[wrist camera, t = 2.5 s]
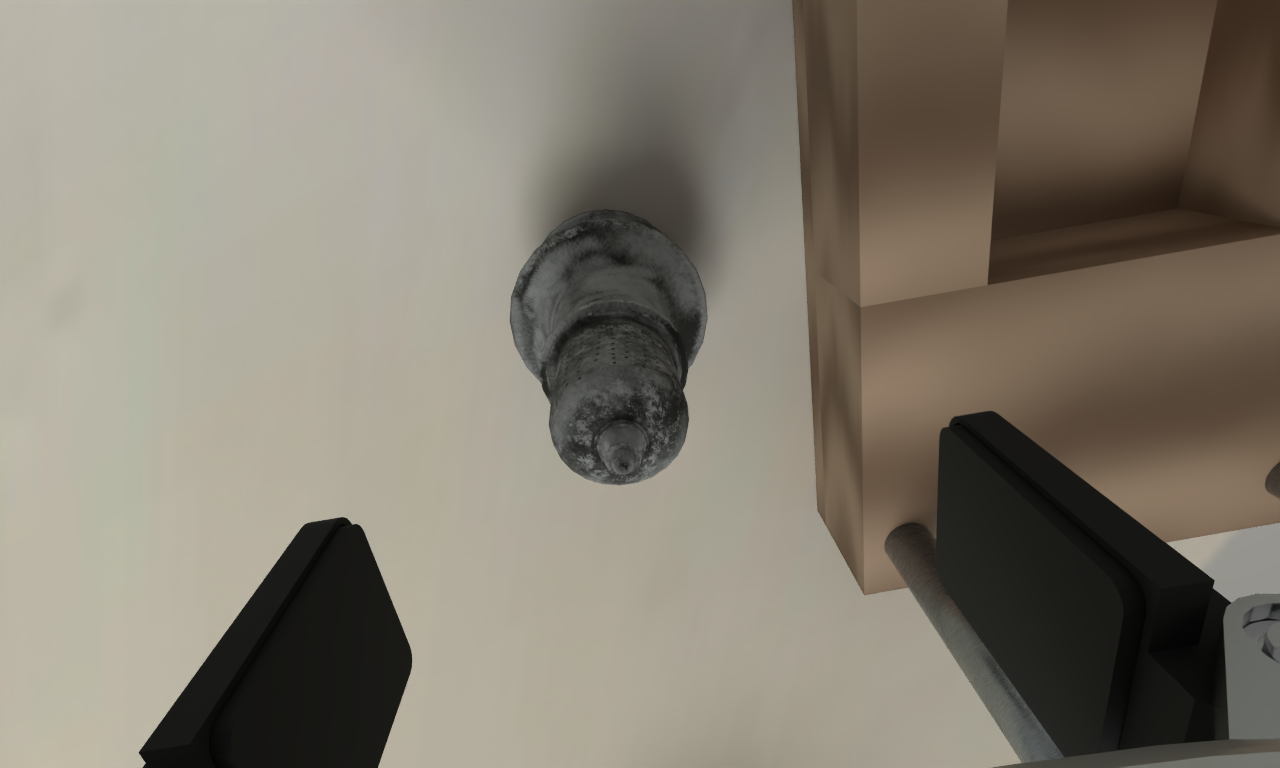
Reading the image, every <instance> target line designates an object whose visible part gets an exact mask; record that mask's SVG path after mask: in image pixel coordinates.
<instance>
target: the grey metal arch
mask: <svg viewBox="0 0 1280 768" xmlns="http://www.w3.org/2000/svg"><path fill="white" fill-rule="evenodd" d="M1265 488H1266V490H1267V491H1268V493H1270V494H1272V495H1273V496H1275V497H1277V498H1278V499H1280V462H1279V463H1278V464H1277V465H1275V466H1274V467H1273V468H1272V470H1271V471H1270V472H1269V474H1268V475H1267V477H1266V481H1265ZM884 549H885V552H886V554H887V555H888V557H889V558H890V560H891V562H892V563H893V565H894V566H895V568H896V569H897V571H898V572H899V574H900V575H901V577H902V578H903V580H904V582H905V583H906V585H907V586H908V588H909V589H910V591H911V592H912V594H913V595H914V597H915V598H916V600H917V602H918V603H919V605H920V606H921V608H922V609H923V611H924V612H925V614H926V615H927V617H928V619H929V620H930V622H931V623H932V625H933V626H934V628H935V629H936V631H937V632H938V634H939V635H940V637H941V639H942V640H943V642H944V643H945V645H946V646H947V648H948V649H949V651H950V652H951V654H952V655H953V657H954V659H955V660H956V662H957V663H958V665H959V666H960V668H961V669H962V671H963V672H964V674H965V676H966V677H967V679H968V680H969V682H970V683H971V685H972V686H973V688H974V689H975V691H976V692H977V694H978V696H979V697H980V699H981V700H982V702H983V703H984V705H985V706H986V708H987V709H988V711H989V712H990V714H991V716H992V717H993V719H994V720H995V722H996V723H997V725H998V726H999V728H1000V729H1001V731H1002V733H1003V734H1004V736H1005V737H1006V739H1007V740H1008V742H1009V743H1010V745H1011V746H1012V748H1013V749H1014V751H1015V753H1016V754H1017V756H1018V757H1019V759H1020V760H1021V762H1022V763H1028V762H1035V761H1043V760H1050V759H1058V758H1065V757H1064V756H1063V755H1062V753H1061V752H1060V750H1059V749H1058V748H1057V746H1056V745H1055V743H1054V742H1053V741H1052V739H1051V738H1050V736H1049V735H1048V734H1047V732H1046V731H1045V729H1044V728H1043V727H1042V725H1041V724H1040V722H1039V721H1038V720H1037V718H1036V717H1035V715H1034V714H1033V713H1032V711H1031V710H1030V708H1029V707H1028V706H1027V704H1026V703H1025V701H1024V700H1023V698H1022V697H1021V696H1020V694H1019V693H1018V691H1017V690H1016V689H1015V687H1014V686H1013V684H1012V683H1011V682H1010V680H1009V679H1008V677H1007V676H1006V675H1005V673H1004V672H1003V670H1002V669H1001V668H1000V666H999V665H998V663H997V662H996V661H995V659H994V658H993V656H992V655H991V654H990V652H989V651H988V649H987V648H986V647H985V645H984V644H983V642H982V641H981V639H980V638H979V637H978V635H977V634H976V632H975V631H974V630H973V628H972V627H971V625H970V624H969V623H968V621H967V620H966V618H965V617H964V616H963V614H962V613H961V611H960V610H959V609H958V607H957V606H956V604H955V603H954V602H953V600H952V599H951V597H950V596H949V595H948V593H947V592H946V590H945V589H944V587H943V586H942V584H941V582H940V580H939V577H938V574H937V570H936V563H935V559H936V538H935V537H934V535H933V534H932V533H931V532H930V530H929V529H928V528H927V527H926V526H925V525H923V524H920V523H906V524H902V525H900V526H898V527H896V528H895V529H894V530H892V531H891V532H890V533H889V535H888V536H887V538H886V540H885V544H884Z"/></svg>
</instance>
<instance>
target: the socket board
mask: <svg viewBox="0 0 1280 768" xmlns="http://www.w3.org/2000/svg"><path fill="white" fill-rule="evenodd" d="M793 19H794V39H795V59H796V80H797V100H798V120H799V141H800V161H801V181H802V202H803V222H804V242H805V263H806V283H807V303H808V324H809V344H810V364H811V384H812V405H813V425H814V445H815V466H816V486H817V506H818V512H819V514H820V516H821V517H822V519H823V521H824V523H825V525H826V527H827V528H828V530H829V532H830V534H831V536H832V537H833V539H834V541H835V543H836V545H837V546H838V548H839V550H840V552H841V554H842V556H843V557H844V559H845V561H846V563H847V565H848V566H849V568H850V570H851V572H852V574H853V575H854V577H855V579H856V581H857V583H858V585H859V586H860V588H861V590H862V592H863V594H864V595H868V594H874V593H879V592H885V591H891V590H896V589H902V588H908V586H907V585H906V583H905V582H904V580H903V578H902V577H901V575H900V574H899V572H898V571H897V569H896V568H895V566H894V565H893V563H892V562H891V560H890V558H889V557H888V555H887V554H886V552H885V549H884V544H885V540H886V538H887V536H888V535H889V533H890V532H891V531H892V530H894V529H895V528H896V527H898V526H900V525H902V524H906V523H920V524H923V525H925V526H926V527H927V528H928V529H929V530H930V532H931V533H932V534H933V535H934V537H935V538H936V527H937V495H938V463H939V436H940V432H941V429H942V428H944V427H949V423H950V421H951V419H952V418H953V417H954V416H960V415H966V414H972V413H978V412H984V411H994V412H996V413H998V414H999V415H1000V416H1002V417H1003V418H1004V419H1005V420H1007V421H1008V422H1009V423H1011V424H1012V425H1013V426H1015V427H1016V428H1017V429H1018V430H1020V431H1021V432H1022V433H1024V434H1025V435H1026V436H1028V437H1029V438H1030V439H1031V440H1033V441H1034V442H1035V443H1037V444H1038V445H1039V446H1041V447H1042V448H1043V449H1044V450H1046V451H1047V452H1048V453H1050V454H1051V455H1052V456H1053V457H1055V458H1056V459H1057V460H1059V461H1060V462H1061V463H1063V464H1064V465H1065V466H1066V467H1068V468H1069V469H1070V470H1072V471H1073V472H1074V473H1076V474H1077V475H1078V476H1079V477H1081V478H1082V479H1083V480H1085V481H1086V482H1087V483H1089V484H1090V485H1091V486H1092V487H1094V488H1095V489H1096V490H1098V491H1099V492H1100V493H1102V494H1103V495H1104V496H1105V497H1107V498H1108V499H1109V500H1111V501H1112V502H1113V503H1115V504H1116V505H1117V506H1118V507H1120V508H1121V509H1122V510H1124V511H1125V512H1126V513H1128V514H1129V515H1130V516H1131V517H1133V518H1134V519H1135V520H1137V521H1138V522H1139V523H1141V524H1142V525H1143V526H1144V527H1146V528H1147V529H1148V530H1150V531H1151V532H1152V533H1154V534H1155V535H1156V536H1157V537H1159V538H1160V539H1161V540H1163V541H1164V542H1165V543H1166V542H1171V541H1177V540H1183V539H1188V538H1194V537H1200V536H1206V535H1211V534H1217V533H1223V532H1229V531H1234V530H1240V529H1246V528H1251V527H1257V526H1263V525H1269V524H1274V523H1280V499H1278V498H1277V497H1275V496H1273V495H1272V494H1270V493H1268V491H1267V490H1266V488H1265V481H1266V477H1267V475H1268V474H1269V472H1270V471H1271V470H1272V468H1273V467H1274V466H1275V465H1277V464H1278V463H1279V462H1280V0H793Z"/></svg>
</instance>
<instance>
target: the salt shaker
mask: <svg viewBox="0 0 1280 768" xmlns="http://www.w3.org/2000/svg"><path fill="white" fill-rule="evenodd" d="M706 323H707V306H706V294H705V291H704V288H703V286H702V283H701V280H700V278H699V275H698V272H697V270H696V268H695V267H694V266H693V264H692V263H691V262H690V260H689V259H688V258H687V256H686V255H685V253H684V252H683V251H682V249H681V248H680V247H678V246H677V245H676V244H674V243H673V242H672V241H671V240H669V239H668V238H667V237H665V236H664V235H663V234H662V233H661V232H660V231H658V230H657V229H656V228H655V227H653V226H652V225H651V224H649V223H648V222H647V221H646V220H644V219H641V218H639V217H636V216H634V215H632V214H629V213H627V212H621V211H613V210H599V211H592V212H585V213H582V214H580V215H578V216H575V217H573V218H571V219H569V220H566V221H565V222H564V223H562V224H561V225H560V226H559V227H557V228H556V229H555V230H554V231H552V232H551V233H550V234H549V235H548V237H547V238H546V240H545V241H544V242H543V244H542V245H541V246H540V247H538V248H537V249H536V250H535V251H534V253H533V254H532V255H531V257H530V258H529V260H528V261H527V262H526V264H525V265H524V267H523V268H522V269H521V271H520V273H519V276H518V279H517V282H516V285H515V287H514V290H513V293H512V296H511V311H510V324H511V329H512V333H513V338H514V342H515V346H516V348H517V350H518V352H519V354H520V356H521V357H522V359H523V361H524V363H525V365H526V367H527V368H528V369H529V370H530V371H531V372H532V373H533V375H534V376H535V377H536V378H537V379H538V380H539V381H540V382H541V383H542V388H543V391H544V392H545V394H546V396H547V398H548V400H549V402H550V404H551V409H550V419H549V427H550V432H551V437H552V441H553V444H554V447H555V448H556V450H557V452H558V454H559V456H560V458H561V459H562V461H563V462H564V463H565V464H566V465H567V466H568V467H569V468H570V469H571V470H572V471H574V472H575V473H577V474H579V475H580V476H582V477H584V478H586V479H588V480H591V481H594V482H598V483H601V484H609V485H625V484H632V483H638V482H640V481H643V480H645V479H648V478H651V477H653V476H655V475H656V474H658V473H659V472H660V471H662V470H663V469H665V468H666V467H667V466H668V465H669V464H670V463H671V462H672V461H673V460H674V459H675V458H676V457H677V455H678V454H679V452H680V450H681V448H682V446H683V444H684V442H685V438H686V433H687V428H688V422H689V416H688V406H687V402H686V398H685V395H684V392H683V389H684V387H685V384H686V379H687V373H688V368H689V367H690V366H691V365H692V364H693V362H694V360H695V357H696V355H697V353H698V351H699V349H700V347H701V345H702V343H703V339H704V334H705V329H706Z"/></svg>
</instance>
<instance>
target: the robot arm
mask: <svg viewBox="0 0 1280 768" xmlns="http://www.w3.org/2000/svg"><path fill="white" fill-rule="evenodd" d="M935 563H936V570H937V574H938V577H939V580H940V582H941V584H942V586H943V587H944V589H945V590H946V592H947V593H948V595H949V596H950V597H951V599H952V600H953V602H954V603H955V604H956V606H957V607H958V609H959V610H960V611H961V613H962V614H963V616H964V617H965V618H966V620H967V621H968V623H969V624H970V625H971V627H972V628H973V630H974V631H975V632H976V634H977V635H978V637H979V638H980V639H981V641H982V642H983V644H984V645H985V647H986V648H987V649H988V651H989V652H990V654H991V655H992V656H993V658H994V659H995V661H996V662H997V663H998V665H999V666H1000V668H1001V669H1002V670H1003V672H1004V673H1005V675H1006V676H1007V677H1008V679H1009V680H1010V682H1011V683H1012V684H1013V686H1014V687H1015V689H1016V690H1017V691H1018V693H1019V694H1020V696H1021V697H1022V698H1023V700H1024V701H1025V703H1026V704H1027V706H1028V707H1029V708H1030V710H1031V711H1032V713H1033V714H1034V715H1035V717H1036V718H1037V720H1038V721H1039V722H1040V724H1041V725H1042V727H1043V728H1044V729H1045V731H1046V732H1047V734H1048V735H1049V736H1050V738H1051V739H1052V741H1053V742H1054V743H1055V745H1056V746H1057V748H1058V749H1059V750H1060V752H1061V753H1062V755H1063V756H1064V757H1065V758H1058V759H1050V760H1043V761H1035V762H1028V763H1020V764H1013V765H1007V766H1000V767H993V768H1280V594H1254V595H1250V596H1245V597H1241V598H1238V599H1236V600H1235V601H1234V602H1232V603H1231V602H1230V601H1228V600H1227V599H1226V598H1224V597H1223V596H1222V595H1221V594H1219V593H1218V592H1217V591H1216V590H1214V589H1213V585H1214V580H1213V579H1212V578H1211V577H1209V576H1208V575H1207V574H1206V573H1204V572H1203V571H1202V570H1200V569H1199V568H1198V567H1196V566H1195V565H1194V564H1193V563H1191V562H1190V561H1189V560H1187V559H1186V558H1185V557H1183V556H1182V555H1181V554H1180V553H1178V552H1177V551H1176V550H1174V549H1173V548H1172V547H1170V546H1169V545H1168V544H1167V543H1165V542H1164V541H1163V540H1161V539H1160V538H1159V537H1157V536H1156V535H1155V534H1154V533H1152V532H1151V531H1150V530H1148V529H1147V528H1146V527H1144V526H1143V525H1142V524H1141V523H1139V522H1138V521H1137V520H1135V519H1134V518H1133V517H1131V516H1130V515H1129V514H1128V513H1126V512H1125V511H1124V510H1122V509H1121V508H1120V507H1118V506H1117V505H1116V504H1115V503H1113V502H1112V501H1111V500H1109V499H1108V498H1107V497H1105V496H1104V495H1103V494H1102V493H1100V492H1099V491H1098V490H1096V489H1095V488H1094V487H1092V486H1091V485H1090V484H1089V483H1087V482H1086V481H1085V480H1083V479H1082V478H1081V477H1079V476H1078V475H1077V474H1076V473H1074V472H1073V471H1072V470H1070V469H1069V468H1068V467H1066V466H1065V465H1064V464H1063V463H1061V462H1060V461H1059V460H1057V459H1056V458H1055V457H1053V456H1052V455H1051V454H1050V453H1048V452H1047V451H1046V450H1044V449H1043V448H1042V447H1041V446H1039V445H1038V444H1037V443H1035V442H1034V441H1033V440H1031V439H1030V438H1029V437H1028V436H1026V435H1025V434H1024V433H1022V432H1021V431H1020V430H1018V429H1017V428H1016V427H1015V426H1013V425H1012V424H1011V423H1009V422H1008V421H1007V420H1005V419H1004V418H1003V417H1002V416H1000V415H999V414H998V413H996V412H994V411H984V412H978V413H972V414H966V415H960V416H954V417H953V418H952V419H951V421H950V423H949V427H944V428H942V429H941V432H940V436H939V463H938V495H937V527H936V559H935ZM411 668H412V653H411V649H410V645H409V643H408V640H407V638H406V635H405V633H404V630H403V628H402V625H401V623H400V620H399V618H398V615H397V613H396V611H395V608H394V606H393V603H392V601H391V598H390V596H389V593H388V591H387V588H386V586H385V583H384V581H383V578H382V576H381V573H380V571H379V568H378V566H377V563H376V561H375V558H374V556H373V553H372V551H371V548H370V546H369V543H368V541H367V538H366V536H365V533H364V531H363V529H362V528H361V527H360V526H359V525H357V524H353V525H352V524H351V522H350V521H349V520H348V519H347V518H344V517H341V518H335V519H329V520H322V521H316V522H310V523H307V524H305V525H304V526H303V527H302V528H301V529H300V531H299V532H298V533H297V535H296V536H295V538H294V539H293V540H292V542H291V543H290V544H289V546H288V547H287V549H286V550H285V551H284V553H283V554H282V556H281V557H280V558H279V560H278V561H277V562H276V564H275V565H274V567H273V568H272V569H271V571H270V572H269V573H268V575H267V576H266V578H265V579H264V580H263V582H262V583H261V584H260V586H259V587H258V589H257V590H256V591H255V593H254V594H253V596H252V597H251V598H250V600H249V601H248V602H247V604H246V605H245V607H244V608H243V609H242V611H241V612H240V613H239V615H238V616H237V618H236V619H235V620H234V622H233V623H232V624H231V626H230V627H229V629H228V630H227V631H226V633H225V634H224V636H223V637H222V638H221V640H220V641H219V642H218V644H217V645H216V647H215V648H214V649H213V651H212V652H211V653H210V655H209V656H208V658H207V659H206V660H205V662H204V663H203V665H202V666H201V667H200V669H199V670H198V671H197V673H196V674H195V676H194V677H193V678H192V680H191V681H190V682H189V684H188V685H187V687H186V688H185V689H184V691H183V692H182V693H181V695H180V696H179V698H178V699H177V700H176V702H175V703H174V705H173V706H172V707H171V709H170V710H169V711H168V713H167V714H166V716H165V717H164V718H163V720H162V721H161V722H160V724H159V725H158V727H157V728H156V729H155V731H154V732H153V733H152V735H151V736H150V738H149V739H148V740H147V742H146V743H145V745H144V746H143V747H142V749H141V750H140V751H139V754H140V755H141V757H142V758H143V760H144V761H145V762H146V764H145V765H144V767H143V768H378V765H379V763H380V760H381V757H382V754H383V751H384V748H385V745H386V742H387V739H388V736H389V734H390V731H391V728H392V725H393V722H394V719H395V716H396V713H397V710H398V707H399V704H400V702H401V699H402V696H403V693H404V690H405V687H406V684H407V681H408V678H409V675H410V672H411Z"/></svg>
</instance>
